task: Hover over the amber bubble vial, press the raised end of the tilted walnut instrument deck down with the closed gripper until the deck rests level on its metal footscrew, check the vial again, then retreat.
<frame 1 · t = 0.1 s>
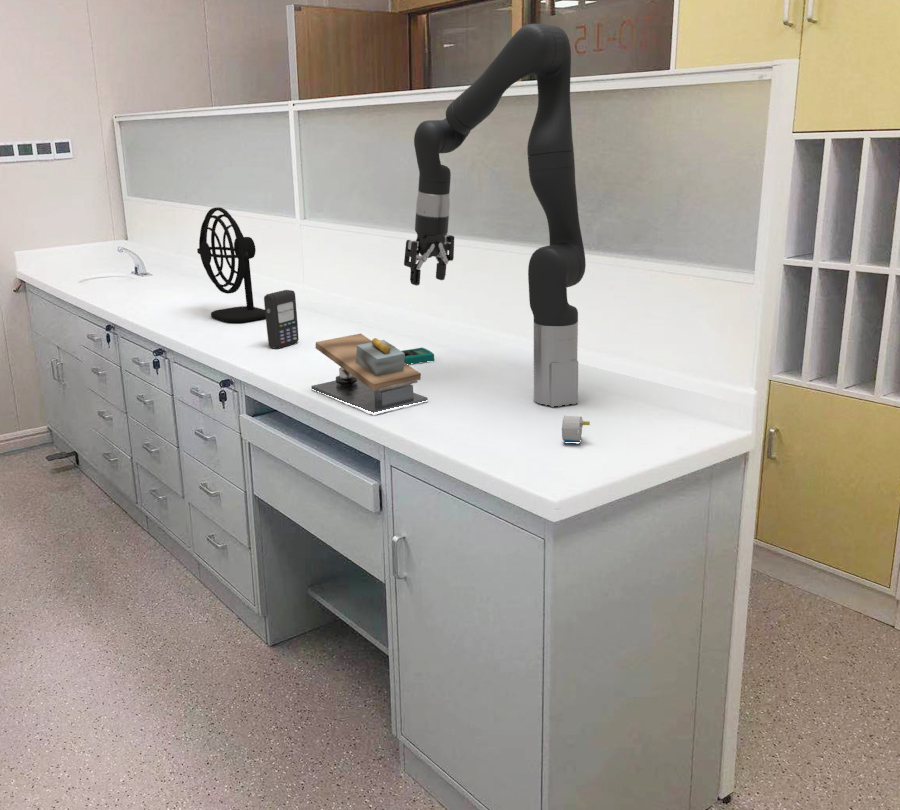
hand: (427, 282, 207), 22 cm above the worktop, tool pointing down, fingers open, 8 cm apart
instrument deck: (368, 350, 195), point 11 cm above the worktop, hinge at 12.0°
card reader: (284, 346, 247), on the worktop
desk fan: (237, 318, 286), on the worktop
electric motor: (576, 443, 166), on the worktop
levelling stand: (368, 395, 199), on the worktop
digital multimeter: (403, 364, 227), on the worktop
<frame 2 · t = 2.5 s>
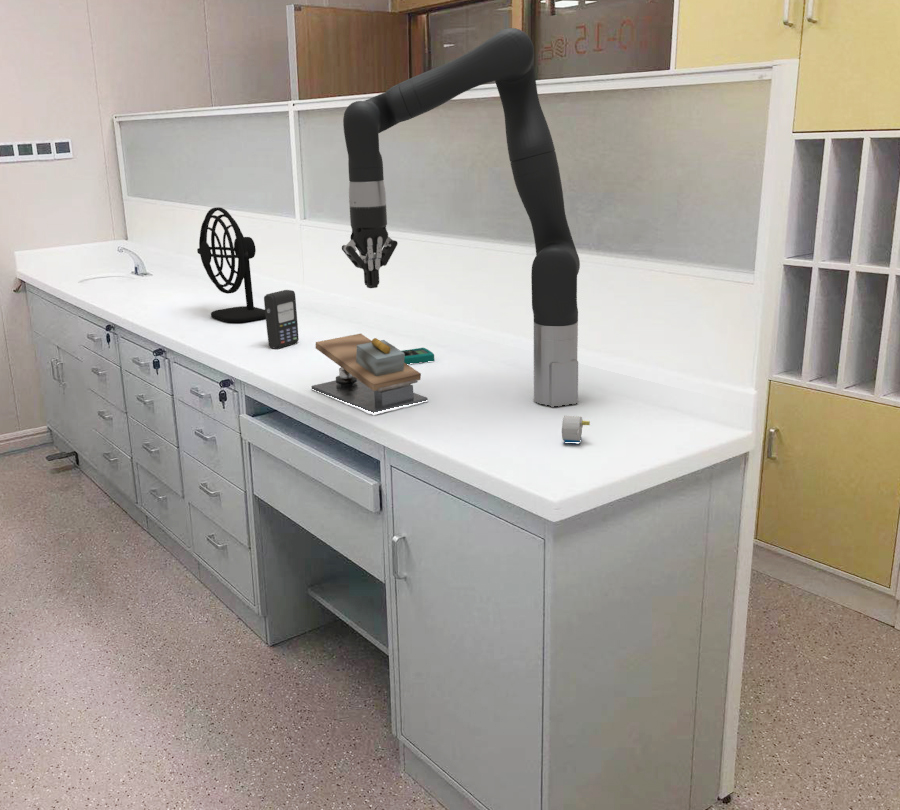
hand: (372, 287, 188), 25 cm above the worktop, tool pointing down, fingers closed
nothing on the worktop moved.
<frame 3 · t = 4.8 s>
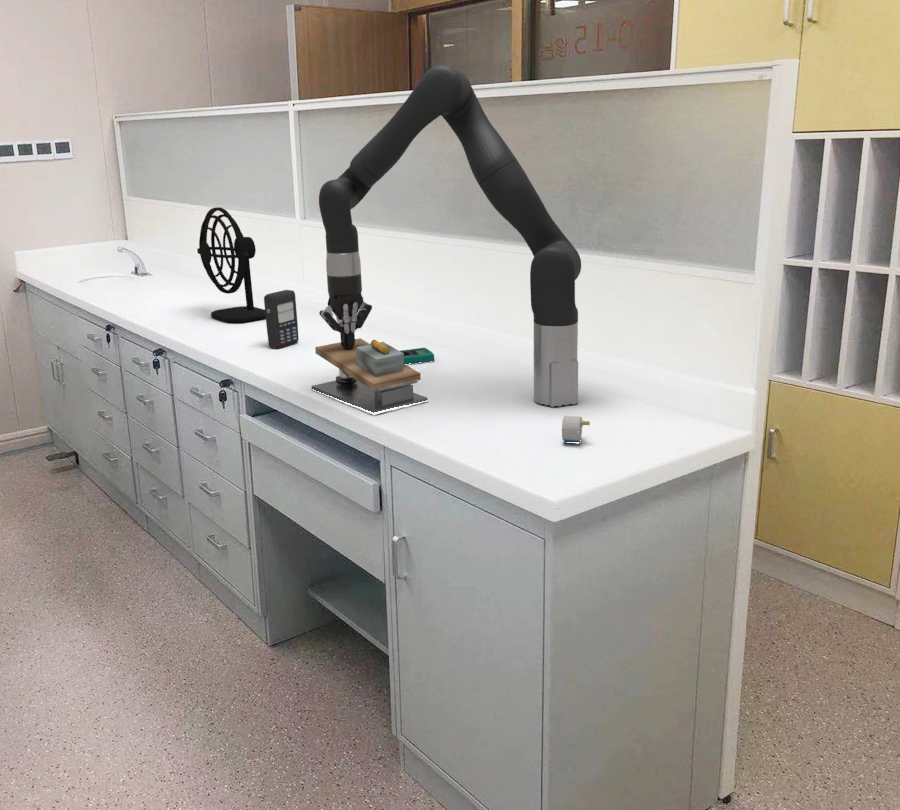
hand: (348, 348, 201), 10 cm above the worktop, tool pointing down, fingers closed
instrument deck: (367, 352, 195), point 10 cm above the worktop, hinge at 9.0°, touching gripper
everything else where it was.
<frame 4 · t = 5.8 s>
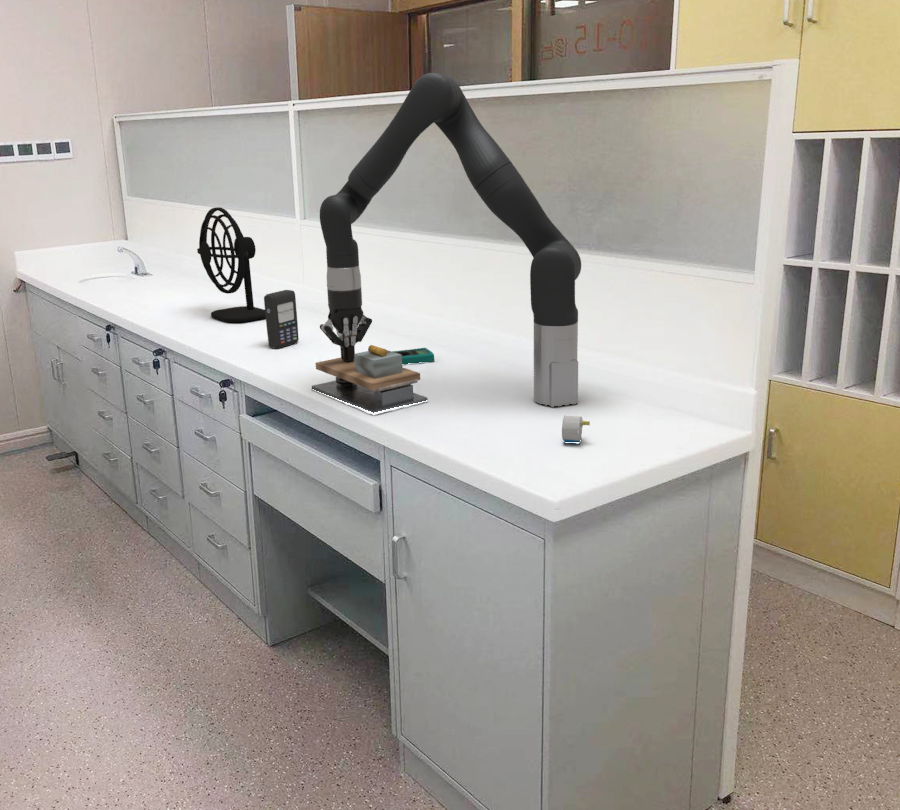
hand: (348, 361, 202), 7 cm above the worktop, tool pointing down, fingers closed
instrument deck: (366, 359, 196), point 8 cm above the worktop, hinge at 0.0°, touching gripper
everything else where it was.
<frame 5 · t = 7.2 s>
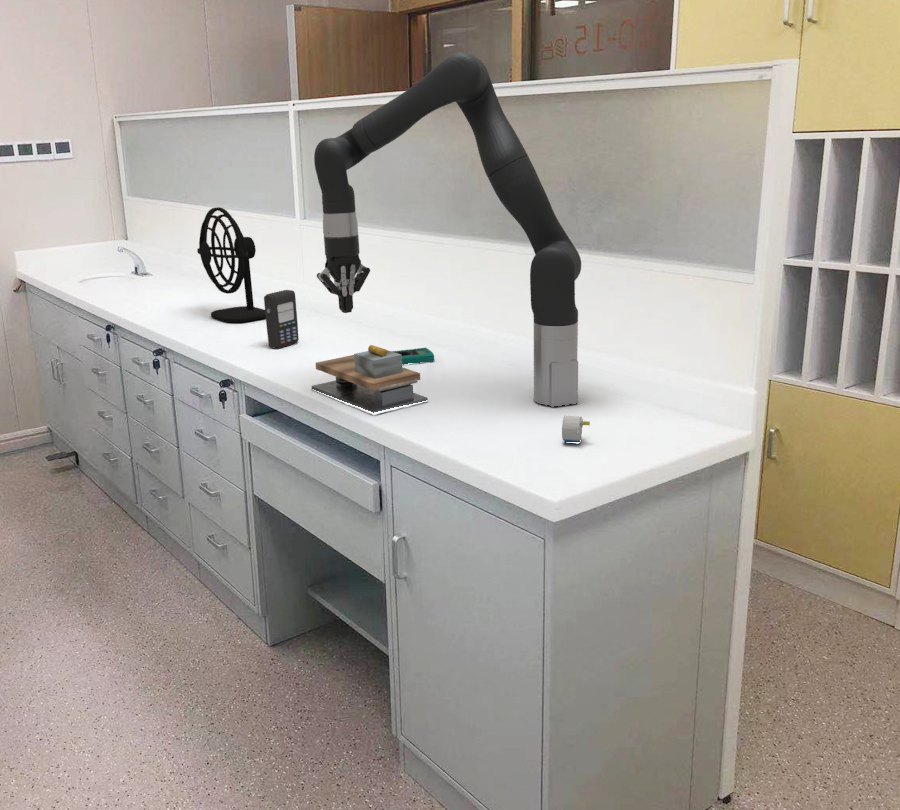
hand: (346, 312, 199), 18 cm above the worktop, tool pointing down, fingers closed
instrument deck: (366, 359, 196), point 8 cm above the worktop, hinge at 0.0°
everything else where it was.
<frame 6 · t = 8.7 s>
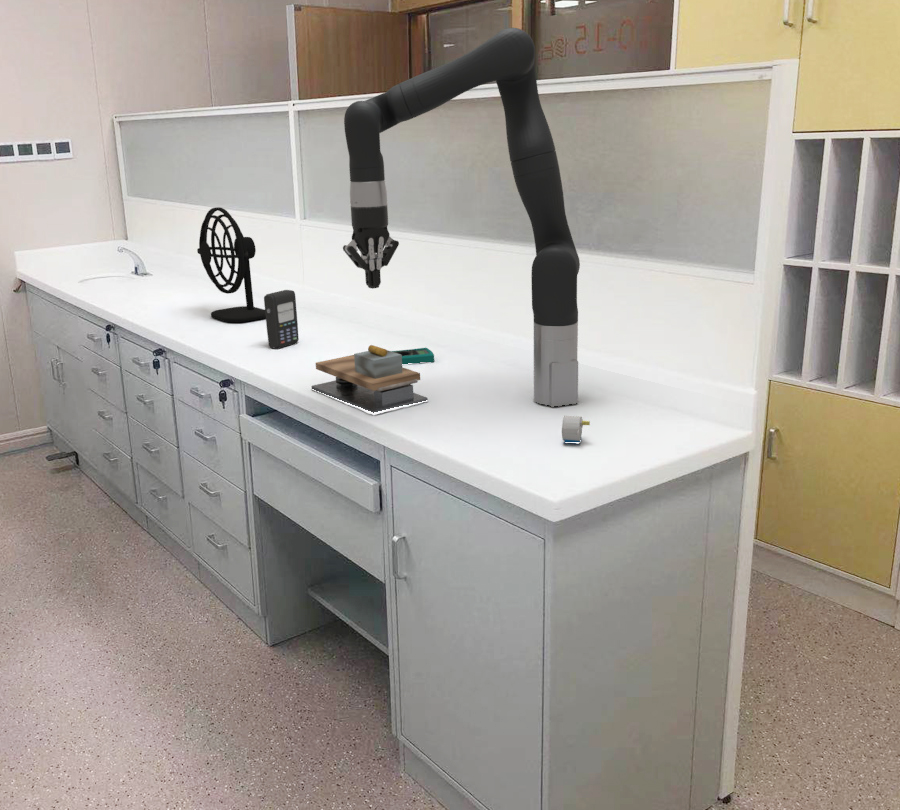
hand: (373, 287, 188), 25 cm above the worktop, tool pointing down, fingers closed
nothing on the worktop moved.
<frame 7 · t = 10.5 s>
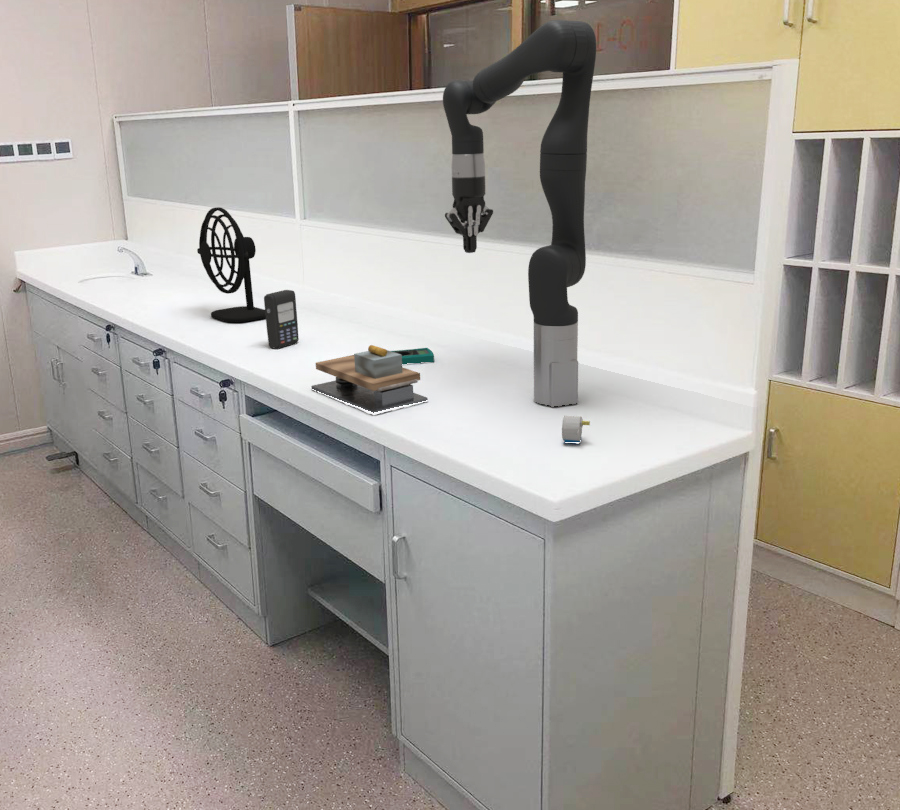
hand: (470, 252, 205), 29 cm above the worktop, tool pointing down, fingers closed
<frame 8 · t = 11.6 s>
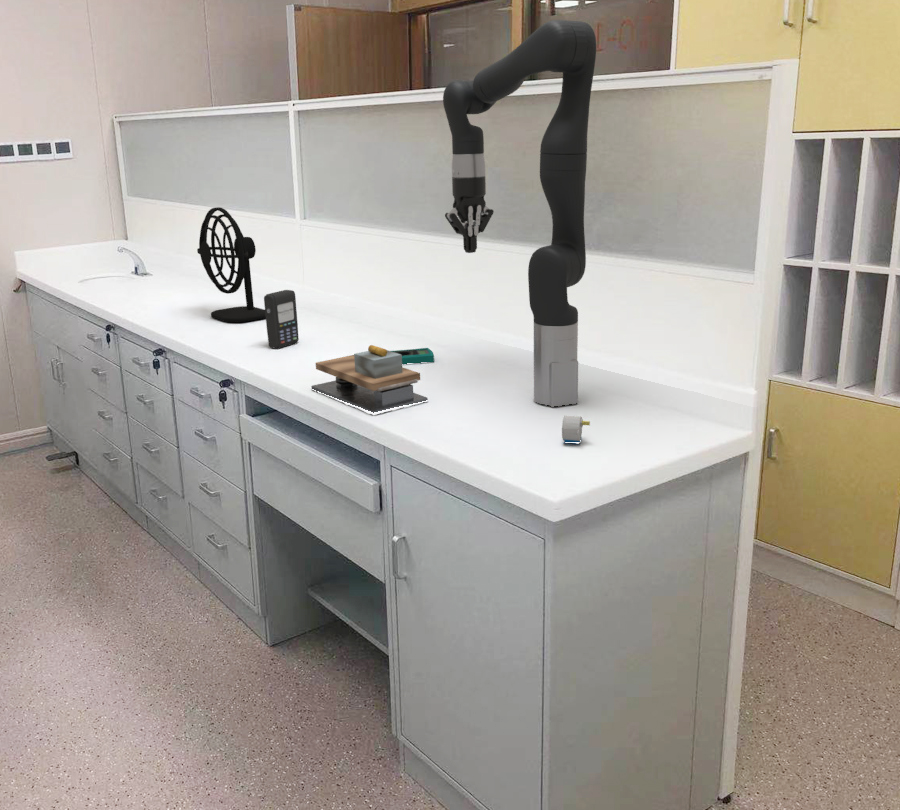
hand: (470, 252, 205), 29 cm above the worktop, tool pointing down, fingers closed
nothing on the worktop moved.
at the end: instrument deck at +0° (first picture: +12°); digital multimeter moved 1.1 cm from its start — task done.
